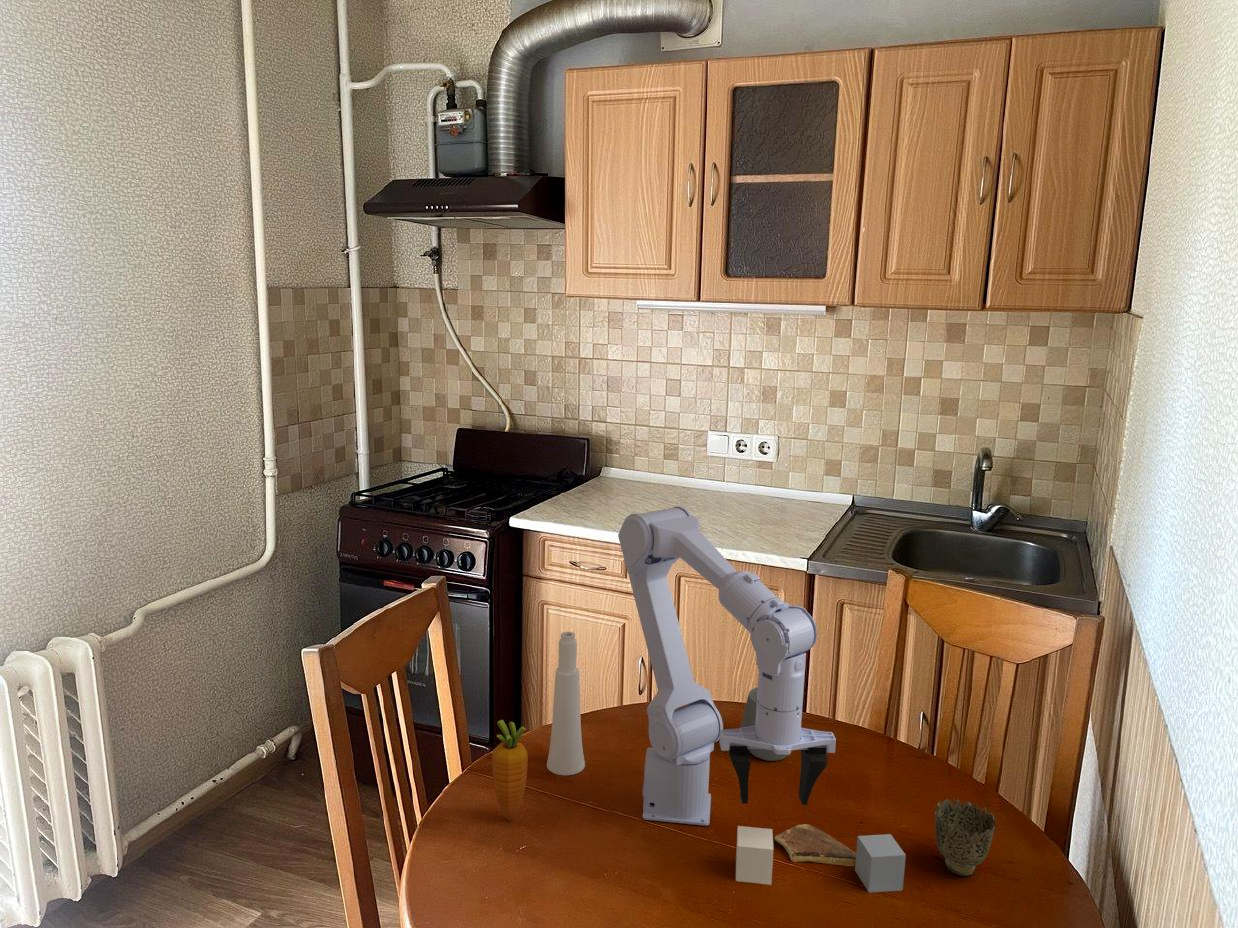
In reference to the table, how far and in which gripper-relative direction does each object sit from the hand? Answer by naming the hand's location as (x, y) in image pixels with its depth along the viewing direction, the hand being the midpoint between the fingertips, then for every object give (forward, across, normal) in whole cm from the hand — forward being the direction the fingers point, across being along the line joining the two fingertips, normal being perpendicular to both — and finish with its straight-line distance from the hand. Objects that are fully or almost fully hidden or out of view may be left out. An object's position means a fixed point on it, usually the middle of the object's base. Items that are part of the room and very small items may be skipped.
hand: (773, 799), depth 116 cm
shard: (+10, +8, +4) cm, 13 cm away
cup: (+10, +5, +30) cm, 32 cm away
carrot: (+10, -35, +9) cm, 38 cm away
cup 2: (+10, +25, 0) cm, 27 cm away
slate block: (+10, +14, -2) cm, 17 cm away
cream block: (+10, -2, -1) cm, 10 cm away
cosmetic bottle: (+10, -28, +24) cm, 38 cm away
